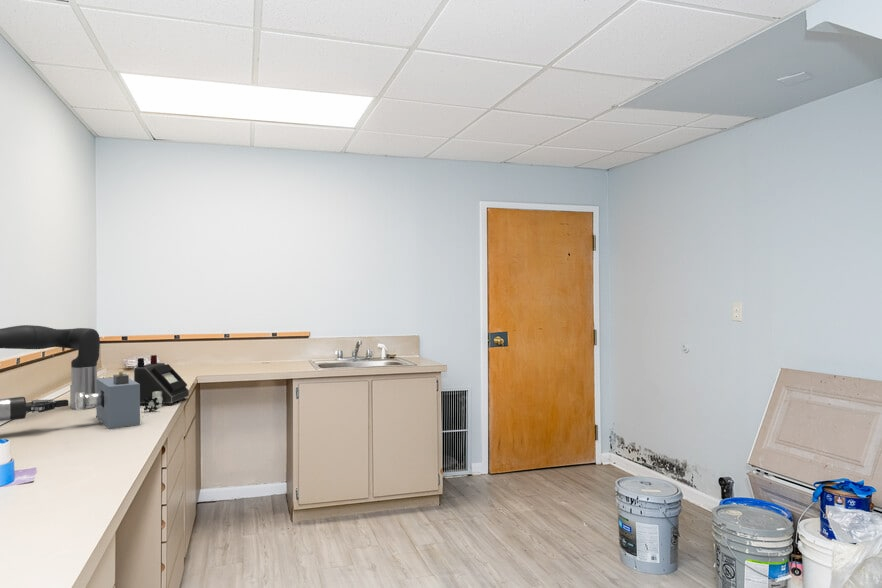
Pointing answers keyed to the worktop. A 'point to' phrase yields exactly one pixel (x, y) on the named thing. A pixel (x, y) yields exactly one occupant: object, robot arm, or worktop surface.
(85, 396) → the knob
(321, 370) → the worktop surface
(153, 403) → the valve
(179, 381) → the voltmeter
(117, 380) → the potentiometer
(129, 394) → the housing
